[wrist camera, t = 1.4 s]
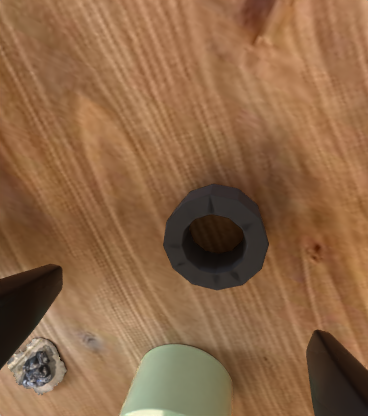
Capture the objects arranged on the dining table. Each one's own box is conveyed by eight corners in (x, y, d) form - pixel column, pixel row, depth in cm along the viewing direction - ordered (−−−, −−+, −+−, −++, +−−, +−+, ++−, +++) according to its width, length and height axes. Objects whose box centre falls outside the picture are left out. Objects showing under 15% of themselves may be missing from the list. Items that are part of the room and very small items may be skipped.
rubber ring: (220, 281, 22) (218, 306, 19) (157, 229, 21) (145, 246, 18) (282, 226, 19) (290, 244, 16) (212, 166, 19) (207, 174, 16)
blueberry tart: (6, 369, 31) (-8, 384, 29) (19, 323, 28) (4, 337, 26) (56, 396, 31) (45, 413, 29) (74, 353, 28) (63, 369, 26)
